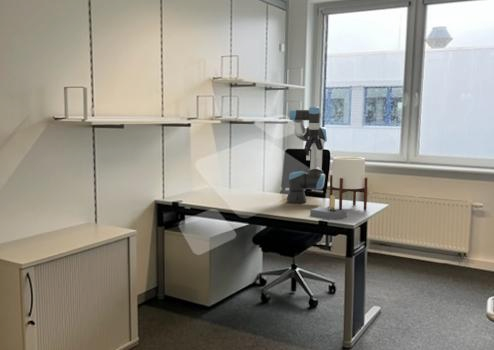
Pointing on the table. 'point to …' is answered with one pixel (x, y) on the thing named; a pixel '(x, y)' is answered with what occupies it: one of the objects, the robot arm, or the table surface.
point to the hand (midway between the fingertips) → (313, 159)
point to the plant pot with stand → (349, 177)
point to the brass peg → (332, 203)
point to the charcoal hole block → (328, 213)
